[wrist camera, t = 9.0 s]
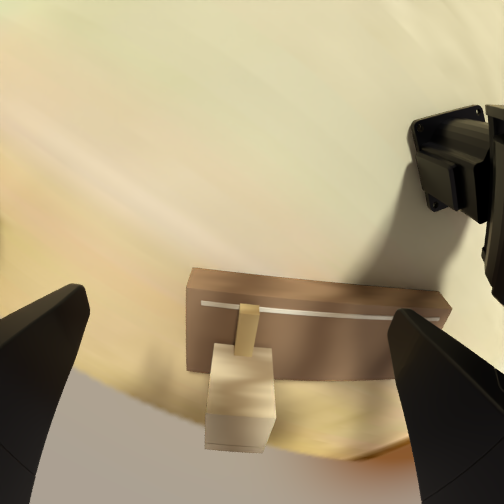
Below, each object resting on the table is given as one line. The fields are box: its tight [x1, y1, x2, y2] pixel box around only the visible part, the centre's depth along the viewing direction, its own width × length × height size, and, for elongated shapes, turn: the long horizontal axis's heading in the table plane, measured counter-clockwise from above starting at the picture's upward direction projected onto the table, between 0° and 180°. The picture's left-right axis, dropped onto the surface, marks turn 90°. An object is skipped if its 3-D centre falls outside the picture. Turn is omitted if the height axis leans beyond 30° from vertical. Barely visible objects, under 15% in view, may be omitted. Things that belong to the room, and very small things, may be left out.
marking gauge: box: [205, 303, 276, 453], centre depth 19 cm, size 4×9×8 cm, turn 173°
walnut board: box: [186, 268, 452, 381], centre depth 22 cm, size 20×8×3 cm, turn 83°
